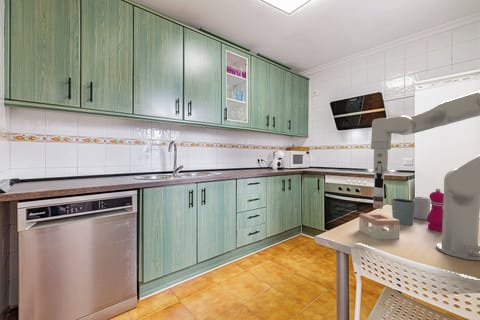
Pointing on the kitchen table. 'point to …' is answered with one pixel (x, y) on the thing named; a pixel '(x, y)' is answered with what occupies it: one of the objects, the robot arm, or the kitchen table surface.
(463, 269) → the kitchen table surface
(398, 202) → the grey teal tapered bin
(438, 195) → the pepper mill
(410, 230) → the kitchen table surface
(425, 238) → the kitchen table surface
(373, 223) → the collar stand
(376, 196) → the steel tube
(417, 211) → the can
